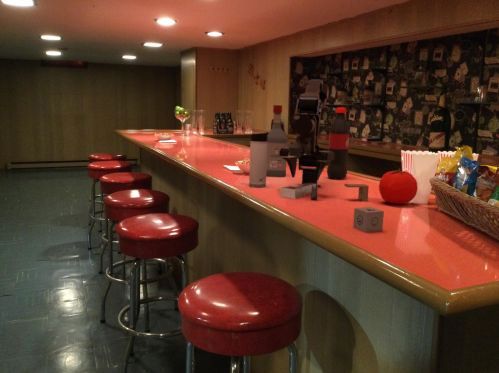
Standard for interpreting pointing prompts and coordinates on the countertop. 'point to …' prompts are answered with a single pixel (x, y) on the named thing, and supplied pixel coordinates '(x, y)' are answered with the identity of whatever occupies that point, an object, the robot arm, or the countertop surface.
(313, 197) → the dark round cylinder
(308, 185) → the square scoop
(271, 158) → the liquor
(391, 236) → the countertop surface
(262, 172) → the travel mug
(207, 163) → the countertop surface
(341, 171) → the cola bottle
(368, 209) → the dice cube
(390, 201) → the tomato
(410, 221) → the countertop surface
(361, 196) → the block
